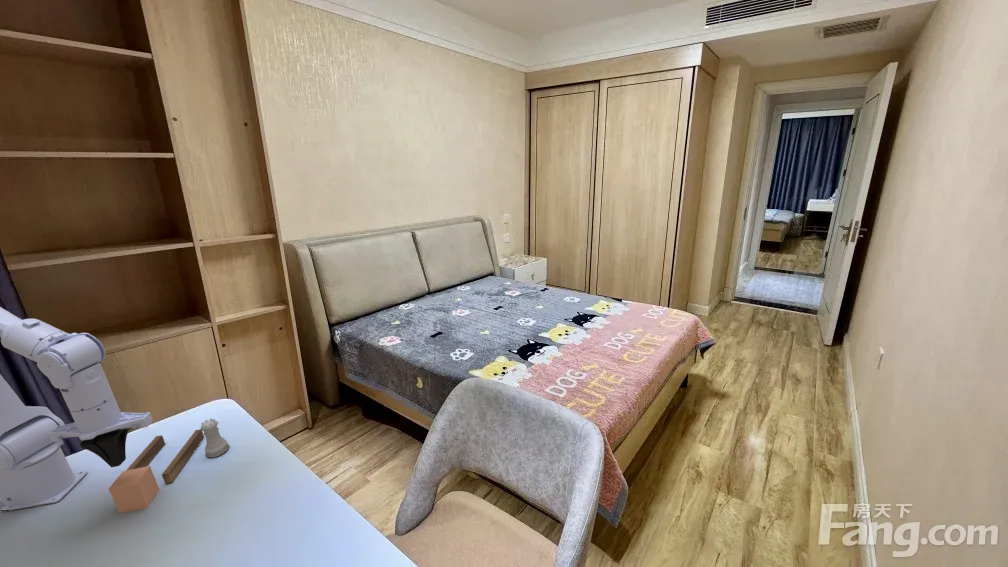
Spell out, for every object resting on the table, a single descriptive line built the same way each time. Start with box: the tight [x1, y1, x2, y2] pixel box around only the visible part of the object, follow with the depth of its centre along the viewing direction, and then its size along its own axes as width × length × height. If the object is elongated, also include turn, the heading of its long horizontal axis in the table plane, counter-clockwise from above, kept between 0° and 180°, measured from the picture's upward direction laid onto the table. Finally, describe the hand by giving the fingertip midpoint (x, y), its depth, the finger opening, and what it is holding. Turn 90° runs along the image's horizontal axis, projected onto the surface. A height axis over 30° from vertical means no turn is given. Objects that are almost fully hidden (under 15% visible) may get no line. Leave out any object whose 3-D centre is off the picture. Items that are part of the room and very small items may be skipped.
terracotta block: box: [108, 465, 160, 514], centre depth 78 cm, size 4×4×6 cm
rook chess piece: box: [199, 418, 230, 459], centre depth 90 cm, size 4×4×8 cm
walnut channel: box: [125, 429, 205, 485], centre depth 88 cm, size 9×14×2 cm
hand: (118, 462), depth 76 cm, fingers closed
